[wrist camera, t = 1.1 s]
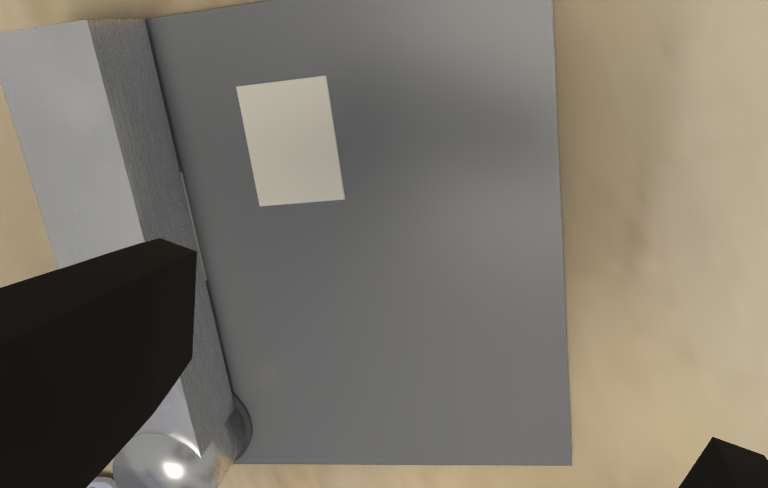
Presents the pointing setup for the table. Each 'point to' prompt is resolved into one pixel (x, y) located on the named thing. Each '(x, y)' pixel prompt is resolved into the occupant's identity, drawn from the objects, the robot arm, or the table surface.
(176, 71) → the label plate
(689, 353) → the table surface
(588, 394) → the table surface
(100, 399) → the robot arm
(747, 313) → the table surface
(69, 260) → the swing arm
